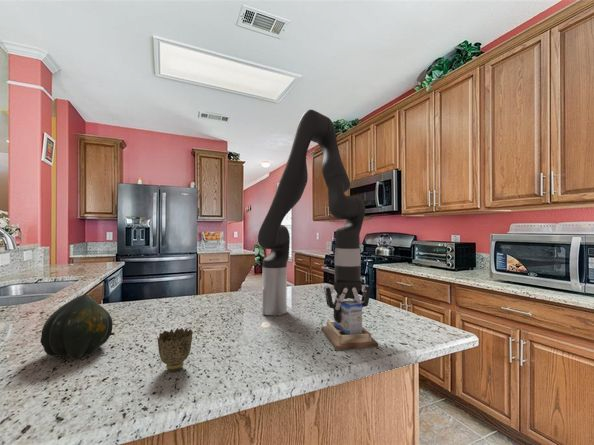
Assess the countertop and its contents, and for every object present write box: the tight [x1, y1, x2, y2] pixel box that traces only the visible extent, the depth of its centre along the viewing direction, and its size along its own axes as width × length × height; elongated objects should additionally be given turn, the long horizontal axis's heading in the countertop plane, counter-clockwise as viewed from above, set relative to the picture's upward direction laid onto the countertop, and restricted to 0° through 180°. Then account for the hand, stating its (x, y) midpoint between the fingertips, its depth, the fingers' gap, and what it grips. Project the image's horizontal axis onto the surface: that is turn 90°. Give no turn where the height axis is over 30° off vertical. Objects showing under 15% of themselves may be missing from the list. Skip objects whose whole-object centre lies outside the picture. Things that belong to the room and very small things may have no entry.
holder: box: [320, 320, 379, 351], centre depth 83 cm, size 12×15×3 cm
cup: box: [156, 327, 194, 372], centre depth 65 cm, size 8×7×8 cm
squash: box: [40, 294, 114, 360], centre depth 73 cm, size 14×15×15 cm
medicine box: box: [333, 298, 363, 335], centre depth 83 cm, size 8×4×9 cm, turn 27°
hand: (347, 321), depth 83 cm, fingers closed on medicine box, 5 cm apart
